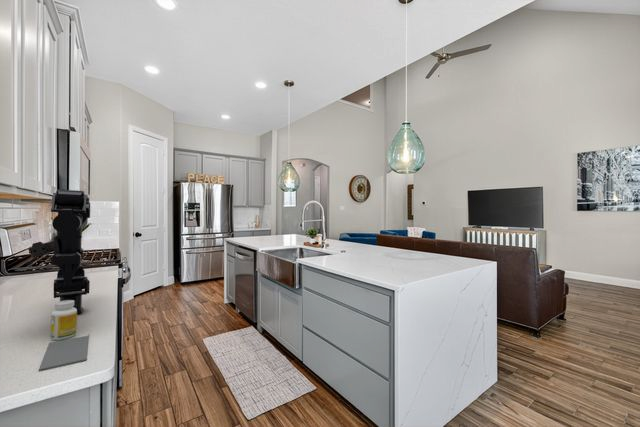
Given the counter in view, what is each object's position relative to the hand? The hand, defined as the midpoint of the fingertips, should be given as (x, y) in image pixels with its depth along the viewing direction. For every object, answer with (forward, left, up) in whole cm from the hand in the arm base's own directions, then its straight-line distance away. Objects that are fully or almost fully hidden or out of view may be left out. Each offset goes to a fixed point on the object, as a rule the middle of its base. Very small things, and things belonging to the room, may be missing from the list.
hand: (67, 283), depth 86 cm
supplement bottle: (+8, 0, -13) cm, 15 cm away
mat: (+20, +1, -13) cm, 24 cm away
